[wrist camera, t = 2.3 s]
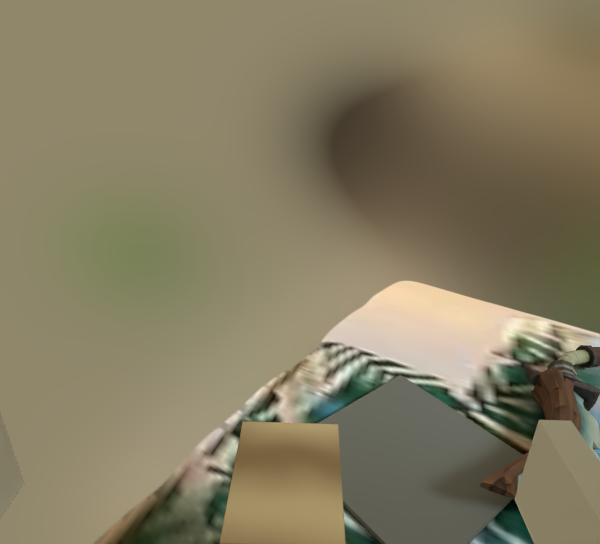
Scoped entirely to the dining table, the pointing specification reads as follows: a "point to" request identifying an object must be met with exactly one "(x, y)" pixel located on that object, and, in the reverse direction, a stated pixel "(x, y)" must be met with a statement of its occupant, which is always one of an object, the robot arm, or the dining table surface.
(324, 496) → the beech block
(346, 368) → the dining table surface
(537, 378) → the decorative knife
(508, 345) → the dining table surface
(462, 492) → the charcoal mat
